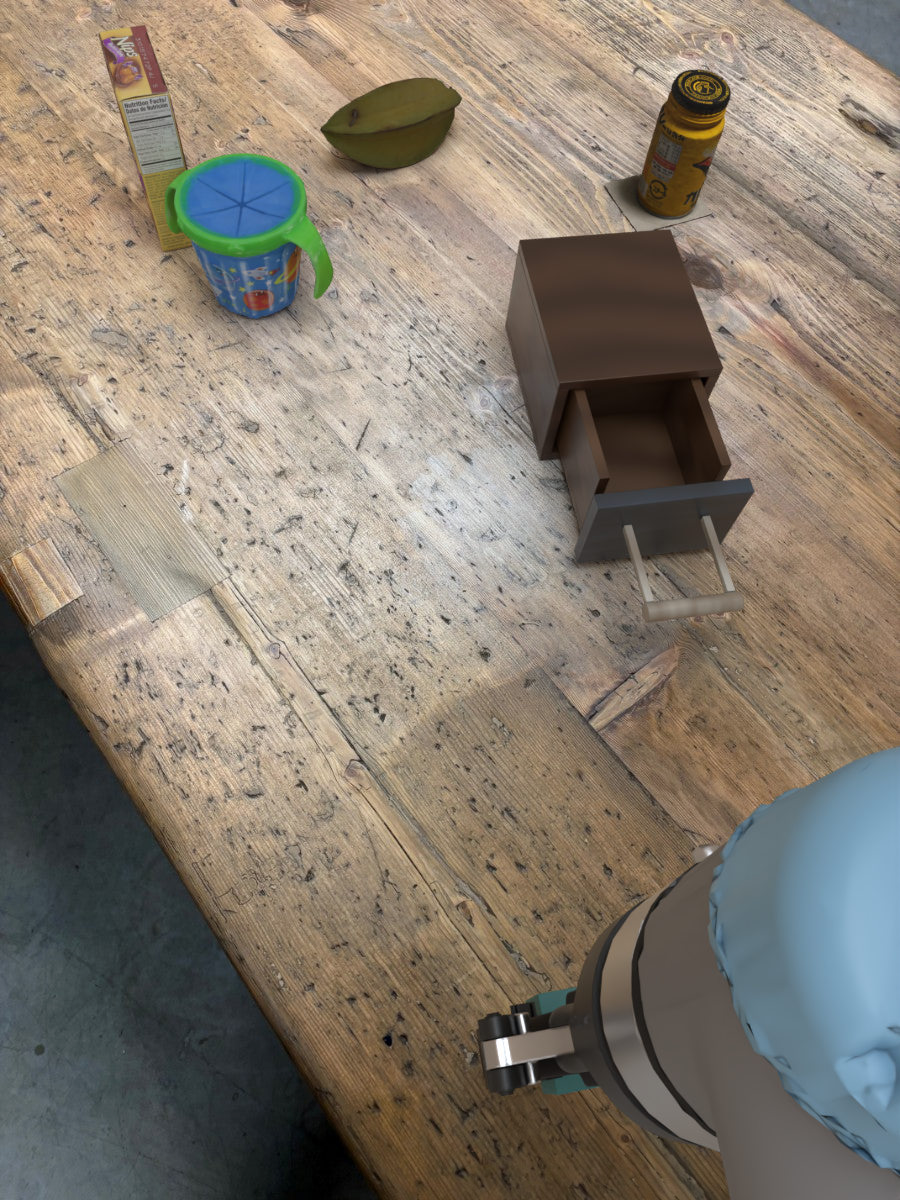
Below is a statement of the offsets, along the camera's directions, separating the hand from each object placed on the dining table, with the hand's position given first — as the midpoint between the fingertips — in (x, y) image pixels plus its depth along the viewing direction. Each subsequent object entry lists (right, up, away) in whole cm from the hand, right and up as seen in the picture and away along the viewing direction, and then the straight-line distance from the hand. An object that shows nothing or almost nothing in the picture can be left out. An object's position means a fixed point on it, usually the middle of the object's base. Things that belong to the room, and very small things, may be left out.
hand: (577, 1042), depth 49 cm
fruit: (-12, +69, +45) cm, 83 cm away
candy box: (-33, +59, +38) cm, 78 cm away
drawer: (+8, +29, +25) cm, 39 cm away
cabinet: (+6, +42, +32) cm, 53 cm away
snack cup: (-24, +51, +35) cm, 66 cm away
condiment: (+14, +63, +44) cm, 78 cm away
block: (0, 0, 0) cm, 0 cm away
